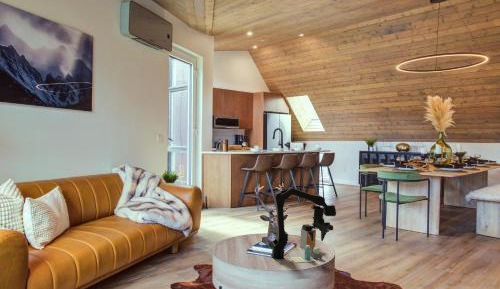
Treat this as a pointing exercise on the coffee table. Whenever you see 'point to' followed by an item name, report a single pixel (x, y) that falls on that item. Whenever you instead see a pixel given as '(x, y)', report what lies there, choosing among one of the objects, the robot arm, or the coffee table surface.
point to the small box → (307, 239)
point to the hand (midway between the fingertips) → (317, 241)
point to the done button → (316, 251)
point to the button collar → (316, 255)
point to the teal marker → (307, 252)
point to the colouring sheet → (300, 259)
